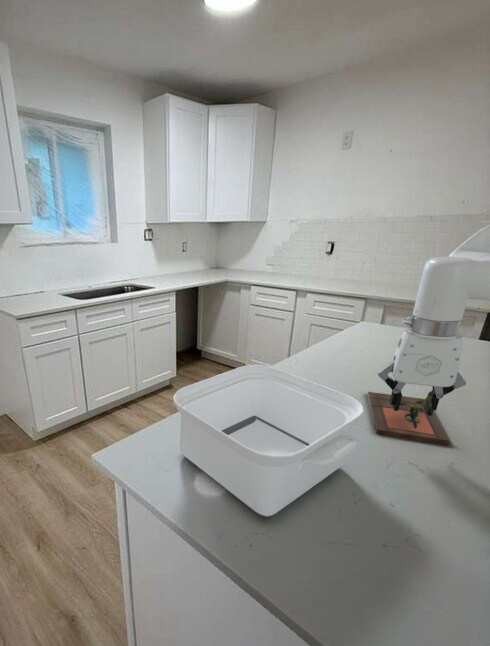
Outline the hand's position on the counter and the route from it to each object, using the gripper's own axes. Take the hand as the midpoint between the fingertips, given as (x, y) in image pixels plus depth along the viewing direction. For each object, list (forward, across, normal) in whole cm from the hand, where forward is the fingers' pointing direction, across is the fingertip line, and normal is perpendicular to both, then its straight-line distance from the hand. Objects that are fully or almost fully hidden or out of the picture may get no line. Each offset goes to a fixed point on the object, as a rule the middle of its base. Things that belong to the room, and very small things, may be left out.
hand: (411, 409), depth 75 cm
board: (+10, +3, +14) cm, 17 cm away
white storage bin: (+9, -28, -15) cm, 34 cm away
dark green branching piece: (+2, 0, 0) cm, 2 cm away
